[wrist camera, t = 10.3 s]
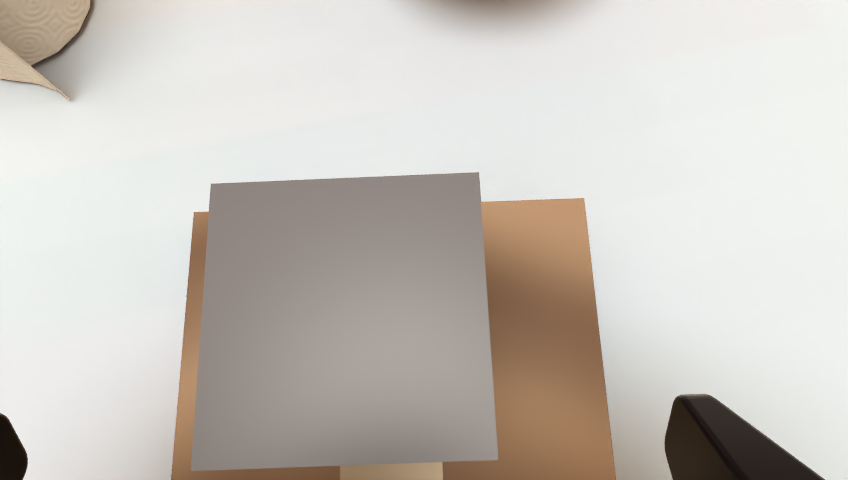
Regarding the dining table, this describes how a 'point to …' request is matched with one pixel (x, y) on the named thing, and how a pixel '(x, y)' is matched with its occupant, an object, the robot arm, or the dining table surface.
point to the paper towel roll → (36, 35)
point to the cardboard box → (510, 352)
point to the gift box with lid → (344, 325)
